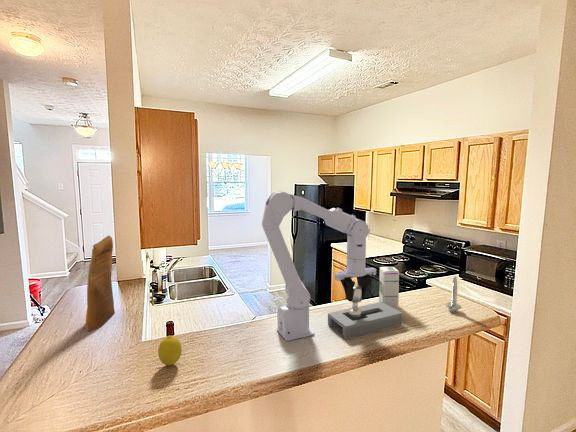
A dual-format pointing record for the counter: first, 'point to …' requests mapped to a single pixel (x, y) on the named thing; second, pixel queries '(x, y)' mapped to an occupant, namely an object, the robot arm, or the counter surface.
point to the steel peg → (356, 301)
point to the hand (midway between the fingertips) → (355, 299)
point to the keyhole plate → (366, 319)
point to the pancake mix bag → (100, 285)
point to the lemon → (169, 350)
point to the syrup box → (389, 286)
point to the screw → (454, 298)
